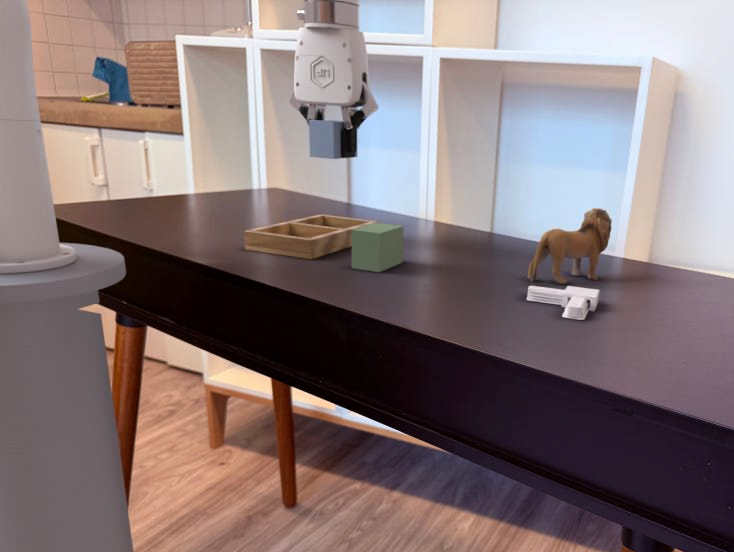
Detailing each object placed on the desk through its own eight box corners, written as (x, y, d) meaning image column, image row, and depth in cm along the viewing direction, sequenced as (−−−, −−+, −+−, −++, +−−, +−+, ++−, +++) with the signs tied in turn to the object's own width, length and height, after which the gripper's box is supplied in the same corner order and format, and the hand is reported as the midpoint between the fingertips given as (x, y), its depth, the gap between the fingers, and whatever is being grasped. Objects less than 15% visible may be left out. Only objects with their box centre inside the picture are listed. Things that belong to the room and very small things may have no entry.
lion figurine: (583, 268, 95) (591, 205, 92) (614, 276, 92) (623, 210, 88) (515, 281, 85) (521, 210, 82) (548, 290, 81) (555, 216, 78)
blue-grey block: (334, 159, 95) (333, 122, 94) (309, 156, 96) (308, 120, 95) (357, 156, 102) (357, 122, 100) (334, 154, 103) (333, 120, 101)
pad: (379, 272, 84) (380, 233, 83) (351, 268, 85) (351, 229, 84) (402, 262, 91) (403, 225, 89) (376, 258, 92) (376, 222, 90)
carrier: (311, 259, 89) (311, 240, 88) (245, 249, 92) (244, 230, 91) (379, 237, 107) (379, 221, 106) (321, 230, 109) (321, 214, 109)
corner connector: (516, 311, 72) (517, 296, 71) (530, 294, 79) (532, 281, 79) (589, 321, 70) (591, 306, 70) (597, 303, 77) (599, 289, 77)
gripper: (264, 13, 91) (270, 152, 98) (373, 17, 87) (373, 162, 93) (295, 21, 98) (299, 150, 105) (398, 24, 94) (395, 159, 100)
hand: (334, 154), depth 99 cm, fingers closed on blue-grey block, 4 cm apart
